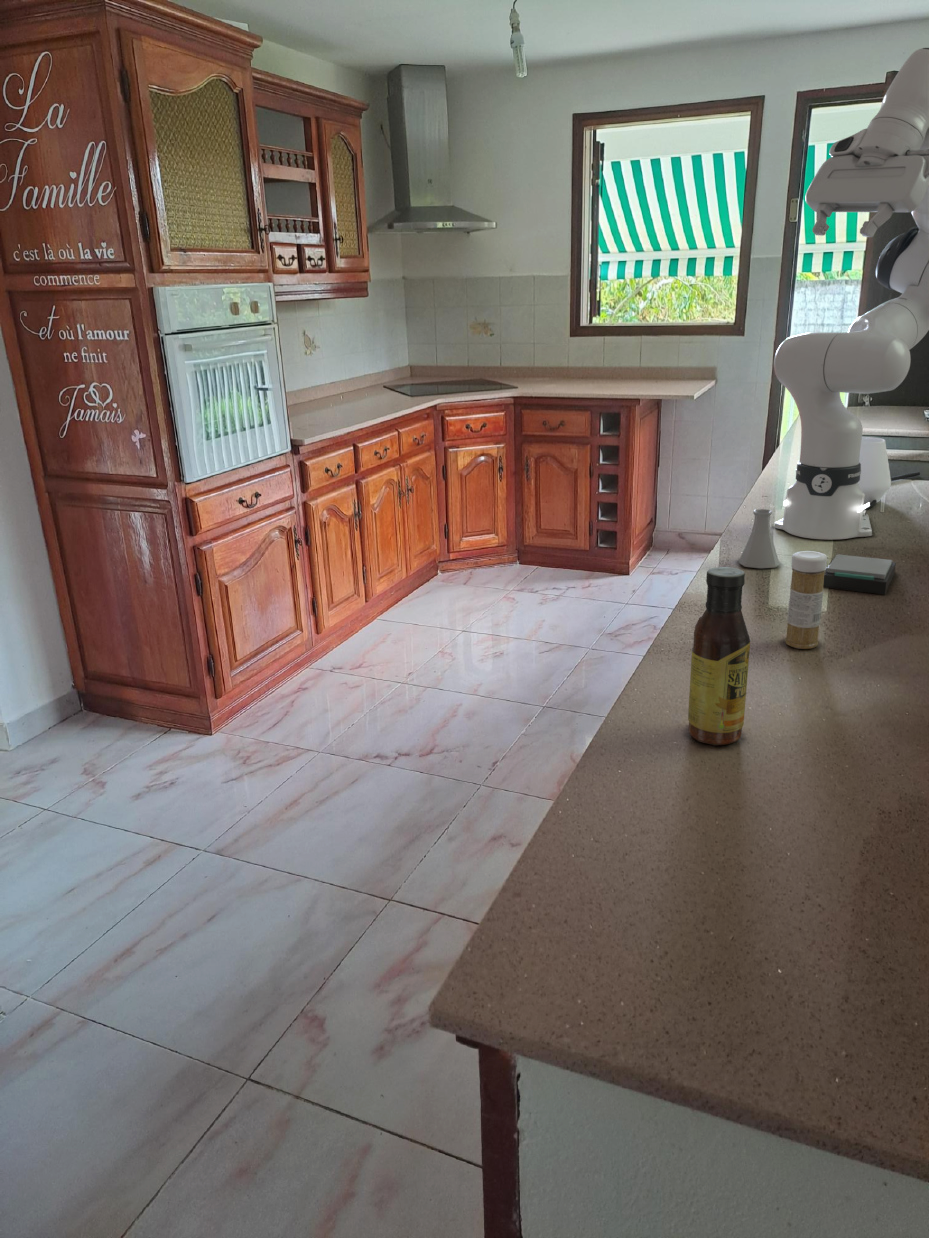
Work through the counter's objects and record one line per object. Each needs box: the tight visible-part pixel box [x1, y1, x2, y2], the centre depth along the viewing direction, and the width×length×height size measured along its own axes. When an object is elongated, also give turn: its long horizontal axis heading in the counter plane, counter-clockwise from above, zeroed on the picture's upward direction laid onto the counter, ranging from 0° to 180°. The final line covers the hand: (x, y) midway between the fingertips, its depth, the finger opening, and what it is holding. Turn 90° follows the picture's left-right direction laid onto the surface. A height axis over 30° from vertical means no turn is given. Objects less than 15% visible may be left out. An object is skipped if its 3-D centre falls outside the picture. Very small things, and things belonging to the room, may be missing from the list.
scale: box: [823, 553, 897, 596], centre depth 151 cm, size 12×10×3 cm
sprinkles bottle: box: [784, 550, 828, 650], centre depth 124 cm, size 5×5×13 cm
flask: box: [738, 508, 780, 569], centre depth 161 cm, size 7×7×10 cm
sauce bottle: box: [687, 566, 751, 746], centre depth 99 cm, size 6×6×20 cm
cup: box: [858, 436, 892, 505], centre depth 202 cm, size 13×13×14 cm
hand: (840, 234), depth 142 cm, fingers open, 8 cm apart
